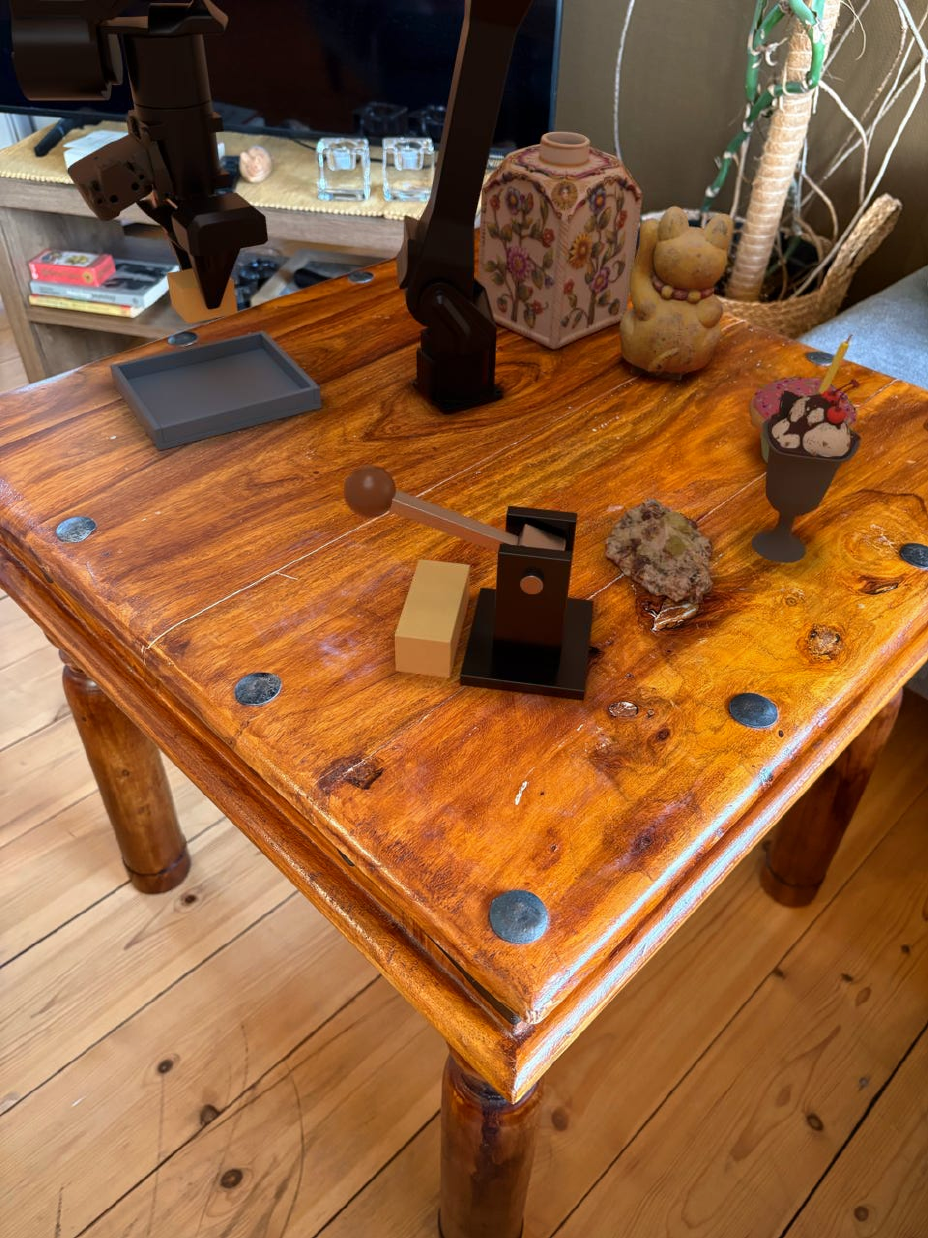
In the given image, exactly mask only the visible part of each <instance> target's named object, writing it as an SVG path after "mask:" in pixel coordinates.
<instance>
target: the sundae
mask: <svg viewBox="0 0 928 1238" xmlns="http://www.w3.org/2000/svg"><path fill="white" fill-rule="evenodd" d="M850 385H851V387H849V388H847V389H845V390H843V389H844V388H846V387H847V386H850ZM860 386H861V384H860V382H858V380H856V379H855V378H851V379H850V382H847V383H846V384H844V385H842V386H840V387H838V389H837V390H835V391H833V390H826V391H824V392H823V394H819V393H816V394H813V395H809V396H806V397H804V396H800V395H797V394H795V393H793V392H790V391H787V390H784V391H783V392H782V394H781V399H780V405H779V412H778V413H776V414H773V415H772V416H771V418H770V419H767V420H766V421H765V422H764V423H763V427H762V428H763V434H764V437H765V439H766V441H767V443H768V445H769V454H768V463H766V473H765V497H766V500H767V501H768V503H769V504H770V506H771V507H772V508H773V510H775V511H776V512H777V513H778V519H777V523H776V525H775V527H774V528H773V530H772V529H771V530H770V529H769V530H762V531H759V532H758V533H755V534H754V535H753V537H752V538H751V547H752V549H753V551H754V552H755V553H756V554H757V555H759V556H760V557H762V558H764V559H766V560H768V561H772V562H775V563H783V564H791V563H797V562H799V561H801V560H803V559H804V558H805V556H806V553H807V548H806V545H805V544H804V542H803V541H802V540H801V539H799V538H798V537H797V536H795V535H794V534H792V531H793V527H794V522H795V519H796V518H798V517H802V516H805V515H807V514H809V513H812V512H814V511H815V510H817V509H818V508H819V506H820V504H821V503H822V501H823V500H824V497H825V496H826V495H827V493H828V491H829V488H830V486H831V484H832V482H833V480H834V478H835V476H836V474H837V472H838V470H839V468H840V466H841V464H842V463H846V462H848V461H850V460H851V459H853V457H855V455H856V453H857V452H858V450H859V448H860V446H861V439H862V437H861V436H860V434H858V433H857V432H855V430H854V429H852V430H851V429H850V428H848V426H847V424H846V423H845V421H844V420H843V419H844V418H845V414H846V413H845V410H843V409H842V408H841V407H839V403H840V400H841V398H842V396H843V395H845V394H846V393H847V392H849V391H850V390H852V389H856V388H860ZM839 390H841V391H842V390H843V391H842V394H841V395H840V397H839V395H838V393H837V392H838V391H839Z"/></svg>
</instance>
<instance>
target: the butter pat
mask: <svg viewBox="0 0 928 1238" xmlns="http://www.w3.org/2000/svg"><path fill="white" fill-rule="evenodd" d="M165 275H166V279H167V280H166V281H167V286H168V290H169V291H168V292H169V296H170V302H171V307H172V308H173V309H174V310H175V312H176V313H177V314H178V315H179V316H180V317H181V318H182V319H183V320H184V322H185V323H186V324H187V325H191V324H197V323H200V322H204V321H209V320H214V319H218V318H223V317H227V316H232V315H236V314H239V313H238V311H239V310H238V304H237V298H236V289H235V282H234V279H233V278H232V277H231V276H230V278H229V281H228V284H227V287H226V290H225V293H224V296H223V299H222V302H221V305H220V307H219V308H216V309H211V310H209V309H207V308H206V306H205V303H204V300H203V297H202V294H201V292H200V289H199V285H198V282H197V279H196V276H195V273H194V270H193V268H191V269H186V270H181V269H180V270H176V271H171V272H167V273H166V274H165Z"/></svg>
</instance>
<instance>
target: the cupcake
mask: <svg viewBox="0 0 928 1238" xmlns="http://www.w3.org/2000/svg"><path fill="white" fill-rule="evenodd" d="M853 336H854V334H853V333H850V334H849V336H848V337H847V339H846V340H843V341H841V343H840V344H839V346H838V349H837V351H836V353H835V354H834V357H833V359H832V361H831V363H830V365H829V366H828V367H829V368H828V370H827V372H826V374H825V376H824V378H823V379H822V378H819V377H818V378H817V377H812V376H811V377H802V376H799V377H797V376H789V377H783V378H780V379H774V380H773V381H771V382H769V383H767V384H764V385H762V387H760V388H758V389H757V391H756V392H755V393H754V396H752V399H751V400H750V403H749V407H748V414H749V416H750V424H751V426H752V427H753V428H754V429H755V430H757V431H758V432H759V438H760V446H761V456H762V459H763V461H764V462H765V463H766V464H767V463H768V454H769V445H768V443H767V441H766V439H765V437H764V434H763V428H762V427H763V423H764V422H765V421H766V420H767V419H770V418H771V416H772V415H773V414H776V413H778V412H779V405H780V399H781V394H782V392H783V391H784V390H787V391H790V392H793V393H795V394H797V395H800V396H804V397H806V396H809V395H813V394H816V393H819V394H823V392H824V391H826V390H833V391H835V390H837V389H839V387H837V386H836V385H834V384H833V383H832V382H833V380H834V378H835V376H836V375H837V372H838V370H839V367H840V366H841V363H843V360H844V358H845V355H846V354H847V353H848V352H847V351H848V349H849V347H850V345H851V344H850V341H851V340H852V337H853ZM837 393H838V395H839V397H840V395H841V394H842V393H843V391H842V389H841V390H839V391H838V392H837ZM849 398H850V397H849V396H847V394H846V393H845V394H844V395H843V396H842V398H841V400H840V403H839V407H841V408H842V409H843V410H845V413H846V414H845V418H844V419H843V420H844V421H845V423H846V424H847V426H848V428H850V429H851V430H854V428H855V425H856V421H857V415H858V413H859V410H857V409H856V407H855V406H854V403H853V402H852V401H851V400H850V399H849Z"/></svg>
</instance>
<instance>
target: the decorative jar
mask: <svg viewBox="0 0 928 1238" xmlns="http://www.w3.org/2000/svg"><path fill="white" fill-rule="evenodd" d="M590 145H591V141H590V138H588V137H587V136H585V135H583V134H580V133H577V132H571V131H552V132H551V131H550V132H547V133H545V134H543V135H542V136H541V138H540V143H539V144H533V145H529V146H526V147H523V148H520V149H517V150H515V151H511V152H509V153H508V154H506V155H505V157H504V158H503V160H502V161H501V162H500V163H499V165H498V166H497V167H496V168H494V170H493V172H492V173H490V175H489V177H488V179H487V180H486V182H485V183H483V185H482V190H481V194H480V199H481V200H480V218H479V219H480V221H479V222H480V223H479V244H478V264H477V265H478V269H477V277H478V278H477V280H478V281H479V282H480V283H481V284H482V285H483V286H484V287H485V288H486V291H487V294H488V298H489V302H490V305H491V309H492V313H493V317H494V320H495V324H497V325H500V326H501V327H504V328H507V329H508V330H510V331H512V332H514V333H516V334H518V335H521V336H522V337H523V336H524V337H526V338H528V339H530V340H532V341H533V342H536V343H538V344H540V345H542V346H544V347H546V348H549V349H550V350H553V351H554V350H557V349H561V348H562V347H564V346H566V345H570V344H572V343H573V342H575V341H578V340H579V339H582V338H584V337H587V336H590V335H592V334H594V333H597V332H598V331H601V330H603V329H605V328H608V327H609V326H612V325H615V324H617V323H620V322H621V320H622V318H623V316H624V314H625V312H626V311H627V310H628V309H629V308H628V307H629V299H630V296H631V295H630V276H631V270H632V267H633V264H634V261H635V258H636V253H637V252H636V251H637V243H638V242H637V241H638V236H639V226H640V218H641V217H640V216H641V212H642V211H641V209H642V202H643V192H642V189H640V187H639V186H638V183H637V182H636V180H635V179H634V178H633V176H632V174H631V172H630V171H629V170H628V169H627V167H626V166H625V164H624V163H623V162H622V161H621V159H620V158H619V157H618V156H616V155H613V154H611V153H608V152H605V151H602V150H599V149H597V148H594V147H591V146H590Z"/></svg>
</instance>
